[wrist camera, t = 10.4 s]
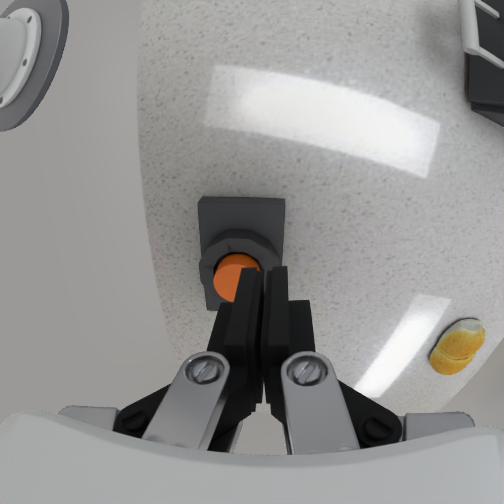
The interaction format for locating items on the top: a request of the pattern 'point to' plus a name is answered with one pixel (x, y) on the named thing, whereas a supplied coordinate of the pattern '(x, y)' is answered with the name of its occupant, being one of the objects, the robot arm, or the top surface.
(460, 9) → the drawer
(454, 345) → the bread roll
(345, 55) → the top surface
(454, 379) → the top surface
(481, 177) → the top surface
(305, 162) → the top surface
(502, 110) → the dark open box
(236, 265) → the button
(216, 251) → the control block
